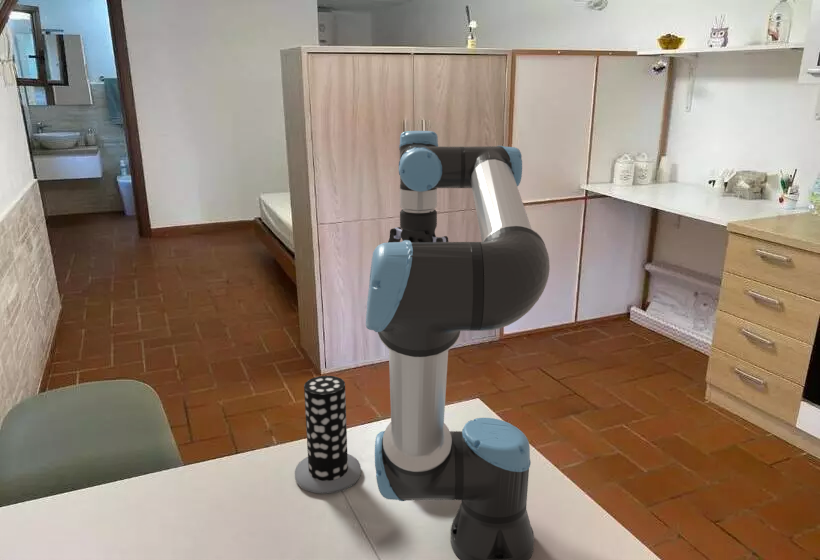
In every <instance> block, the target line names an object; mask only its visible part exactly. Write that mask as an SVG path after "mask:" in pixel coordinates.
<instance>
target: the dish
mask: <svg viewBox="0 0 820 560" xmlns="http://www.w3.org/2000/svg"><path fill="white" fill-rule="evenodd" d="M347 456H348V470H347V472H346V474H345V475H343V476H342V477H340V478H338V479H335V480H330V481H321V480H317V479H315V478H313V477H312V476H311V475H310V474H309V467H308V456H306V457H305V458H303V459H302V460H301V461H299V463H297V465H296V467H295V469H294V479H295V482H296V483H297V485H298V486H299V487H300V488H302V489H303V490H305V491H307V492H311V493H315V494H334V493H339V492H342V491H344V490H346V489H349V488H350V487H353V485H355V484H356V483H357V482H358V481H359V479H360V477H361V473H362V469H361V467H362V466H361V463H360V461H359V460H358V459H357V458H356V457H355V456H353V455H351V454H349V453H347Z"/></svg>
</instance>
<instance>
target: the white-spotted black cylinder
mask: <svg viewBox="0 0 820 560" xmlns="http://www.w3.org/2000/svg"><path fill="white" fill-rule="evenodd" d="M303 391H304V394H303V395H304V409H305V423H306V424H305V427H306V429H305V430H306V444H307V457H308V467H309V474H310V475H311V476H312V477H313V478H315V479H317V480H321V481H330V480H335V479H338V478H340V477H342V476H343V475H345V474H346V472H347V470H348V456H347V454H348V431H347V426H348V425H347V404H346V402H347V401H346V400H347V399H346V382H345V380H344V379H342V378H341V377H339V376H334V375H320V376H315V377H313V378H310V379H308V380H307V381H306V382H304V385H303Z"/></svg>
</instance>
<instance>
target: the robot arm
mask: <svg viewBox="0 0 820 560" xmlns="http://www.w3.org/2000/svg"><path fill="white" fill-rule="evenodd" d="M438 137H439V136H438V134H437V132H435V131H433V130H407V131H403V132H402V133H400V136H399V146H398V148H399V162H398V174H399V179H400V180H399V181H400V182H399V183H400V185H399V208H401V210H400V211H399V226H397V227H394V228H390V230H389V239H388V240H387V242H383V243H380V244H378V245H377V246H376V247H375V249H374V250H373V252H372V256H371V264H370V271H369V272H370V273H369V285H368V292H367V300H366V301H367V302H366V313H365V326H366V329H368V330H369V331H374V332H375V333H377V334H378V337H379V340H380V341H381V343H382V344H383V345H384V346H385V347H386V348H387V349H388V361H389V363H388V364H389V365H388V366H389V368H388V369H389V396H390V397H389V398H390V422H389V423H388V425H387V426H386V427H385V430H382V431H379V433H377V434H376V437H375V441H374V442H375V444H374V468H375V477H376V483H377V489H378V491H379V493H380V495H381V496H382V497H383V498H384V499H386V500H392V501H393V500H394V501H399V502H400V501H401V502H407V501H460V504H459V507H458V509H457V511H456V514H455V516H454V519H453V520H452V523H451V526H450V539H449V540H450V546H451V549H452V550H453V552H454V554H455V555H456V556H457V557H458V558H459V560H530V559H531V558H532V556H533V553H534V550H535V549H534V547H535V534H534V530H533V528H532V524H531V521H530V518H529V514H528V510H527V503H528V502H527V501H528V488H529V475H530V473H529V472H530V468H531V463H532V462H531V455H530V454H531V453H530V452H531V451H530V449H531V448H530V442H529V439H528V437H527V436H526V434H525V433H524V432H523V431H522V430H520V429H519V428H518V427H517V426H515V425H513V424H512V423H509V422H507V421H504V420H503V419H499V418H492V417H477V418H474V419H473V420H471V419H470V420H469V421H467V422H466V423H465V424H464V426H463V428H462V430H460V431H459V430H455V431H454V430H450V428H449V427H448V426H447V424H446V423H445V412H446V411H445V409H446V395H447V394H446V393H447V379H448V378H447V376H448V362H449V361H448V360H449V350H450V349H452V348H453V347H454V346H455V344H456V343H457V342H458V340H459V337H460V334H461V332H464V331H465V332H466V331H467V332H468V331H469V332H471V331H472V332H474V331H477V332H484V331H494V330H499V329H503V328H504V327H508V326H510V325H512V324H514V323H516V322H517V321H518V320H520V319H521V318H522V317H524V316H526V314H527V313H529V312H530V310H532V309H533V308H534V306H535V305H536V303H537V302H538V301H539V300H540V298H541V297H542V295H543V294H544V290H545V288H546V287H547V283H548V280H549V275H550V270H551V268H550V257H549V253H548V250H547V248H546V244H545V242H544V240H543V238H542V237H541V235H540V234H539V233H538V232H537V231H535V230H534V229H533V228H532V225H531V222H530V220H529V217H528V213H527V211H526V208H525V206H524V202H523V199H522V196H521V194H520V190H519V186H520V184H521V183H522V177H523V175H522V174H523V159H522V157H523V156H522V152H521V151H520V149H519V148H517V147H515V146H514V147H513V146H503V145H496V146H494V145H493V146H489V145H487V146H484V145H483V146H439V143H438V142H439V138H438ZM438 189H471V192H472V197H473V201H474V202H473V203H474V208H475V212H476V213H475V214H476V218H477V219H476V220H477V223H478V224H477V225H478V230H479V234H480V238H481V241H449V237H448V236H447V235H445V236H437V235H436V229H437V227H438V226H437V225H438V211H437V210H436V208H437V207H438ZM401 240H402V241H401Z"/></svg>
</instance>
